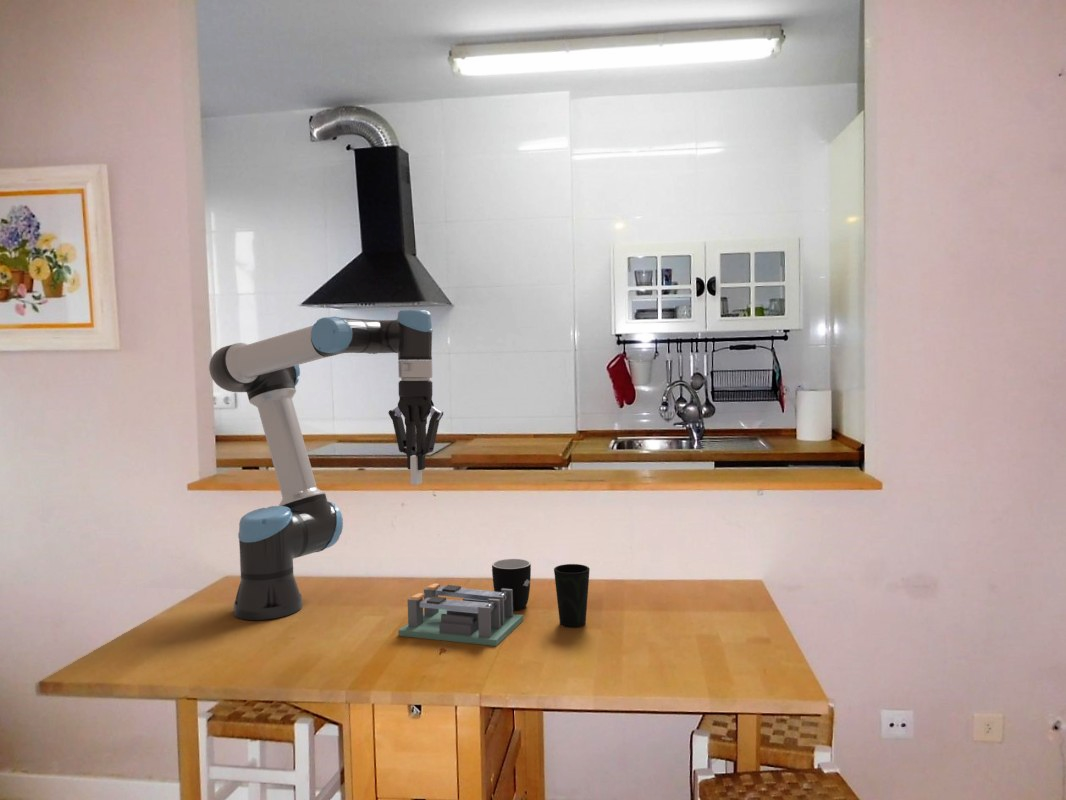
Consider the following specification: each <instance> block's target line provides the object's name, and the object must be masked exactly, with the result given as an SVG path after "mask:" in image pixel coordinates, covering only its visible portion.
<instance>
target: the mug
mask: <svg viewBox="0 0 1066 800" xmlns="http://www.w3.org/2000/svg"><path fill="white" fill-rule="evenodd" d="M531 566H532V564H531V562H530V561H529V560H527V559H523V558H522V559H521V558H504V559H499V560H496V561H493V563H492V564H491V568H492V569H491V572H492V574H491V575H492V576H491V577H492V584H493V585H492V586H493V591H494V592H501V589H513V612H515V611H520V610H523V609H525V608H526V607H527V605H528V602H529V597H530V590H531V577H532V576H531V572H532V567H531Z"/></svg>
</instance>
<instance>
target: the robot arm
mask: <svg viewBox="0 0 1066 800" xmlns="http://www.w3.org/2000/svg"><path fill="white" fill-rule="evenodd" d="M432 325H433V324H432V314H431V312H430V311H428V310H424V309H404V310H398V312H397V318H396V319H392V320H391V319H390V320H389V319H388V320H387V319H385V320H383V319H367V318H366V319H364V318H363V319H362V318H349V317H347V318H346V317H340V316H339V317H337V316H330V317H329V316H326V317H321V318H319V319H318V320H316V322H315V323H314V324H313V325H310V326H307V327H303V328H300V329H295V330H293V331H289V332H286V333H283V334H279V335H275V336H273V337H268V338H266V339H262V340H259V341H256V342H253V343H252V342H251V343H249V344H247V343H244V342H237V343H233V344H230V345H226V346H223V347H221V348H219V349H217V350H216V351H215V352H214V353H213V354H212V356H211V359H210V361H209V365H208V369H209V370H208V371H209V375H210V377H211V379H212V381H213V382H214V383H215V384H216V385H217V386H218V387H220V389H223V390H225V391H227V392H230V393H246V394H247V397H248V401H249V404H251V405H253V406H254V407H256V408H257V411H258V414H259V417H260V421H261V425H262V428H263V432H264V436H265V439H266V442H267V446H268V449H269V453H270V457H271V461H272V465H273V468H274V471H275V475H276V480H277V482H278V485H279V490H280V494H281V497H282V499H281V500H280V503H279V504H278V505H274V506H268V507H261V508H258V509H254V510H252V511H249V512H247V513H246V514H244V515H243V516H241V519H240V520H239V523H238V528H239V529H238V533H237V535H238V536H237V537H238V542H239V565H240V582H239V586H238V589H237V593H236V596H235V600H234V603H233V615H234V617H236V618H238V619H241V620H246V621H265V620H274V619H280V618H283V617H287V616H290V615H293V614H296V613H298V612H299V611H300V610H301V609H302V608H303V596H302V594H301V593H300V589H299V586H298V583H297V581H296V578H295V575H294V559H297V558H300V557H304V556H307V555H310V554H311V555H312V554H313V553H320V552H322V551H324V550H326V549H328V548H331V547H332V546H334V545H336V544H337V542H338V541H339V539H340V537H341V535H342V533H343V528H344V525H343V524H344V518H343V514H342V512H341V510H340V508H339V506H338V505H337V506H336V504H335V503H333V502H331V501H328V498H327V495H326V492H324V491H323V490H321V489H319V488H318V486H317V483H316V480H315V476H314V472H313V468H312V465H311V462H310V461H311V460H310V459H309V453H308V451H307V448H306V444H305V441H304V437H303V433H302V430H301V427H300V423H299V422H300V421H299V419H298V416H297V412H296V408H295V404H294V401H293V398H294V396H295V394H296V393H297V389H296V386H297V385H298V383H299V381H300V378H299V377H300V376H301V369H300V368H301V367H300V365H303V364H307V363H309V362H313V361H318V360H321V359H325V358H328V357H334V356H338V355H342V354H354V353H355V354H373V355H375V354H394V353H395V354H397V357H398V358H397V359H398V361H397V362H398V366H397V367H398V368H397V369H398V377H399V379H401V380H399V381H398V397H399V400H398V402H397V406H396V407H395V408H393V409H390V410H388V416H389V417H390V418H391V420H392V424H393V428H394V433H395V439H396V443H397V447H398V451H399V453H402V454H405V455H406V459H407V460H406V461H407V462H406V463H407V464H406V467H407V470H409V471H410V486H418V485H421V484H423V470H425V469H426V455H428V454H430V453H432V452H433V451H434V448H435V444H436V439H437V434H438V431H439V430H438V429H439V425H440V421H441V419H442V418H443V416H444V411H443V410H439V409H437V408H436V407H435V404H434V402H433V381H432V380H430V379H432V378H433V356H432V353H433V352H432V349H433V348H432V347H433V346H432V344H433V326H432ZM429 416H430V419H429V421H428V417H429ZM403 417H404V420H403ZM427 424H428V426H427Z"/></svg>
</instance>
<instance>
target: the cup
mask: <svg viewBox="0 0 1066 800" xmlns="http://www.w3.org/2000/svg"><path fill="white" fill-rule="evenodd" d="M590 569H591V568H589V566H587V565H585V564H584V565H583V564H577V563H567V564H566V563H565V564H560V565H557V566H555V567H554V568H553V572H554V582H555V583H554V584H555V590H556V600H557V608H558V610H557V611H558V619H559V625H561V627H565V628H568V629H569V628H571V629H574V628H581V627H584V626H585V625H586V624H587V623H586V622H587V611H588V595H589V582H590Z"/></svg>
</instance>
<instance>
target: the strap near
mask: <svg viewBox="0 0 1066 800" xmlns="http://www.w3.org/2000/svg"><path fill="white" fill-rule="evenodd" d="M479 606H485V607H491V611H493V610H494V609H495V608H496V604H495V602H490V603H486V602H474V601H463V599H462V600H461V599H448V598H447V597H446V596H438V597H432V598H426V599H424V598H423V601H421V602H420V607H422V608H423V609H424V608H433V609H444V610H456V611H467V612H478V607H479Z"/></svg>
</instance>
